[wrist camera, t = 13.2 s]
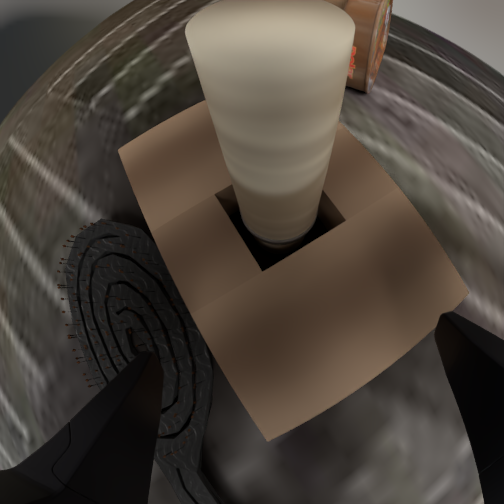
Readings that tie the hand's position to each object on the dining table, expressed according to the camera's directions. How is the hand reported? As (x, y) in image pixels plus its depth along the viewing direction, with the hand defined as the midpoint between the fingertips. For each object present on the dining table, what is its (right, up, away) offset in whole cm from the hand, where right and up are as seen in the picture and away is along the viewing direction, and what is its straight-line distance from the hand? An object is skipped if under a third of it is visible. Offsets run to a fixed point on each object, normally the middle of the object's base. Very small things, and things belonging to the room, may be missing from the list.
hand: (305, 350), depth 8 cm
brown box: (0, +4, +9) cm, 9 cm away
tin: (+9, +20, +13) cm, 26 cm away
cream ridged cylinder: (0, +4, +9) cm, 10 cm away
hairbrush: (-6, -7, +6) cm, 11 cm away
